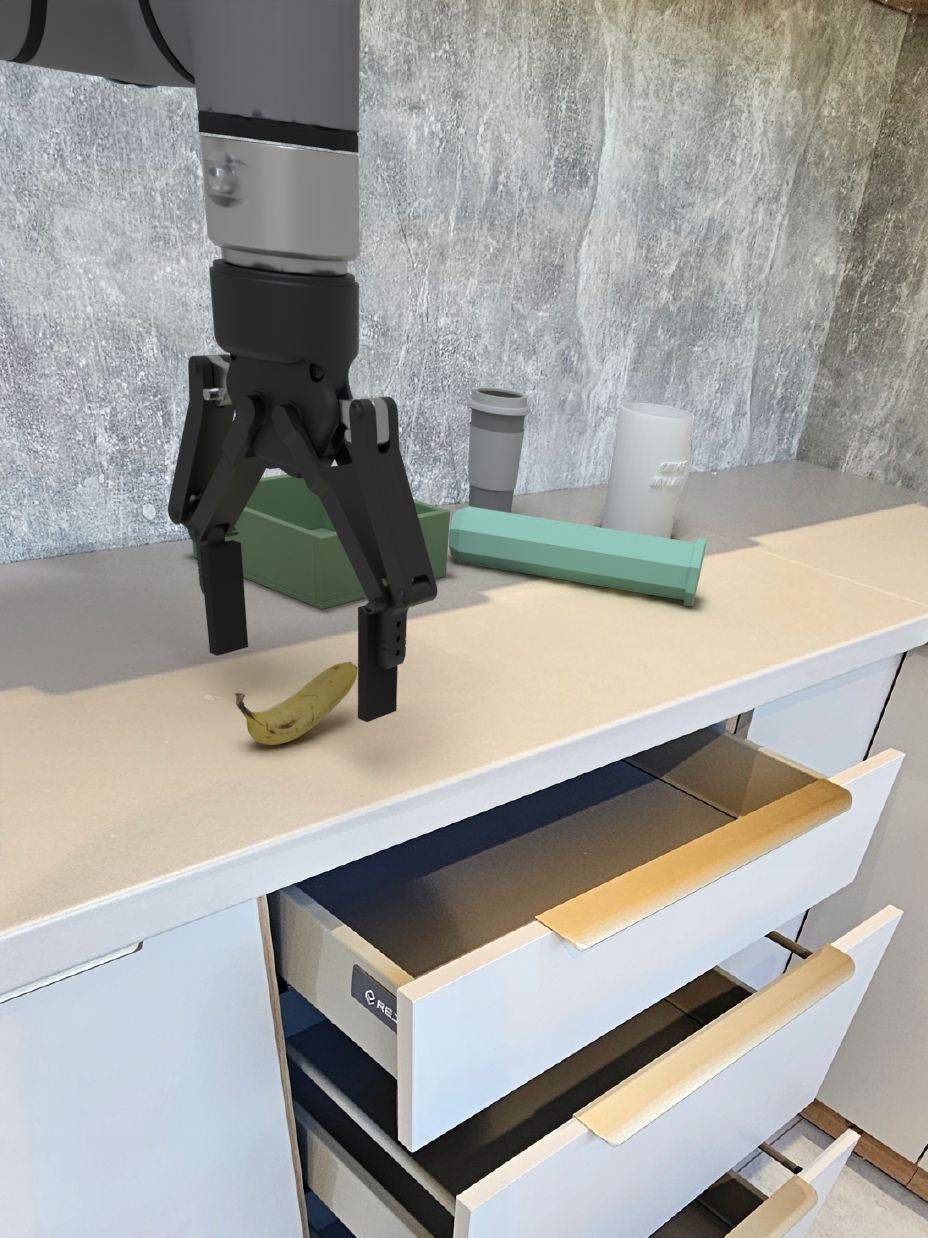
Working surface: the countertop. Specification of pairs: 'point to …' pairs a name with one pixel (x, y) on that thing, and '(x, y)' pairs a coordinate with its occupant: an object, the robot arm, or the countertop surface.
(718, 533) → the countertop surface
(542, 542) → the container
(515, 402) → the cup
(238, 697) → the banana
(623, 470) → the mug
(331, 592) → the bin
